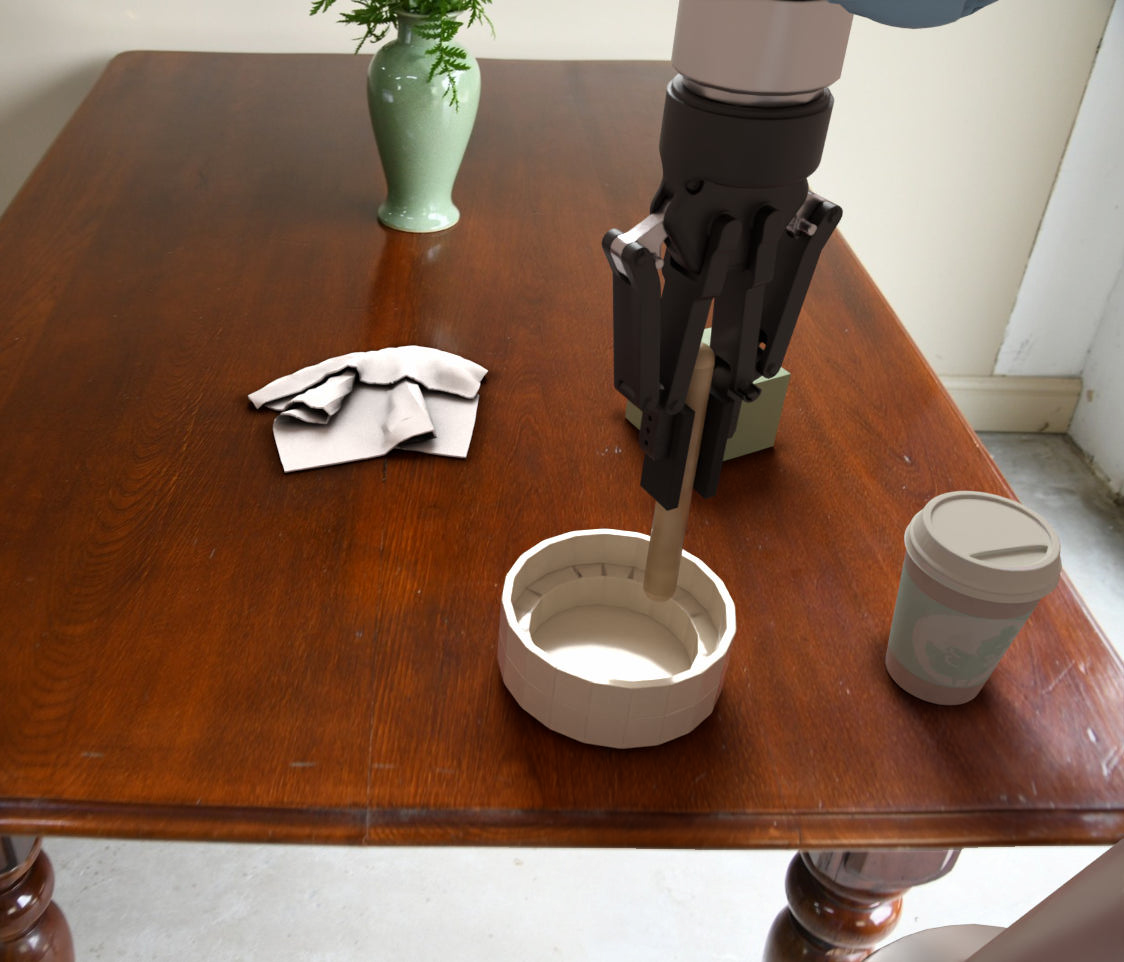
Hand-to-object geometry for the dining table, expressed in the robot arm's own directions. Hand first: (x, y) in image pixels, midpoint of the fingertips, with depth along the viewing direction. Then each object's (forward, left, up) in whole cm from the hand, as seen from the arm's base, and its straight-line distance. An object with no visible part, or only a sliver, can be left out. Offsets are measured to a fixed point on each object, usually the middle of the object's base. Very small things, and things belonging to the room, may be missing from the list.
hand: (677, 490), depth 66 cm
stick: (0, 0, -8) cm, 8 cm away
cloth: (+35, +5, -14) cm, 38 cm away
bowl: (0, +3, -14) cm, 14 cm away
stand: (+20, -19, -14) cm, 31 cm away
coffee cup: (-9, -16, -14) cm, 23 cm away
